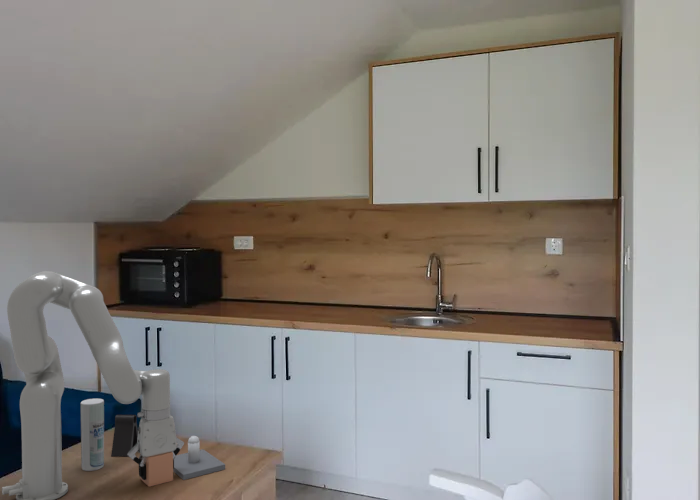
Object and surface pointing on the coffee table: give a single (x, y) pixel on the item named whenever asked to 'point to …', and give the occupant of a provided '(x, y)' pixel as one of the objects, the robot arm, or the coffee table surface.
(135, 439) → the phone stand
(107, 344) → the robot arm
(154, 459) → the sleeve
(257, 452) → the coffee table surface
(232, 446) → the coffee table surface
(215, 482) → the coffee table surface
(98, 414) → the spray can
